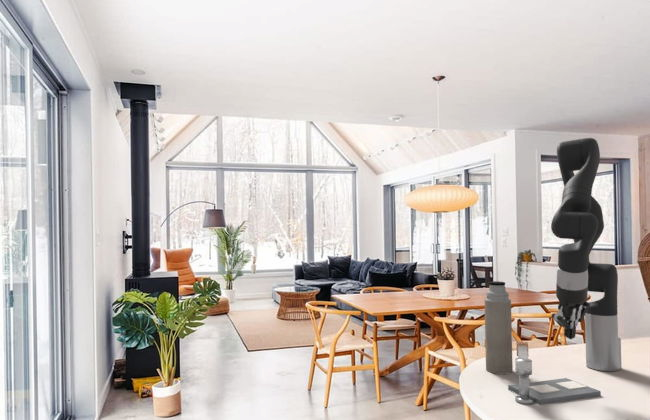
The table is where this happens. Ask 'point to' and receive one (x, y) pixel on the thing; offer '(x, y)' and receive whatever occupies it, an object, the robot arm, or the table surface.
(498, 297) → the thermos bottle
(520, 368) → the swing arm
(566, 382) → the label tray
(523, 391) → the post
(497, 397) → the table surface
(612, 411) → the table surface
